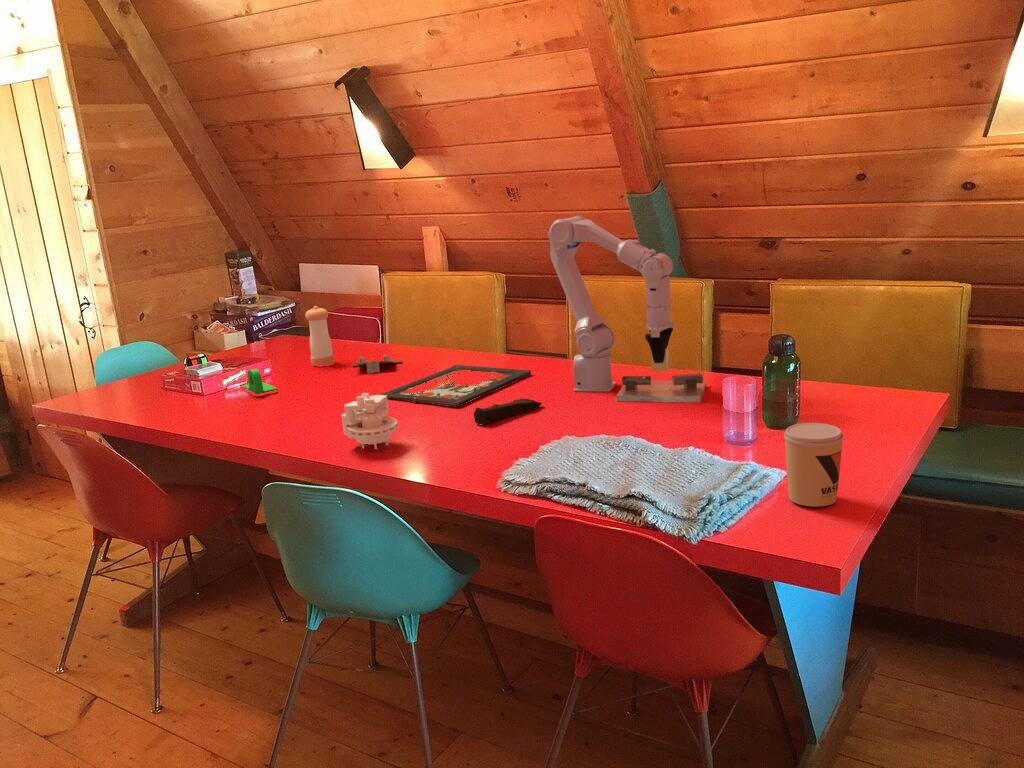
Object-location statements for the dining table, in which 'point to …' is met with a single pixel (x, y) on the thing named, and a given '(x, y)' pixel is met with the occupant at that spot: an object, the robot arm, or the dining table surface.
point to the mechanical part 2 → (368, 420)
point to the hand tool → (504, 410)
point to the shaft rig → (662, 389)
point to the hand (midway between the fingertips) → (660, 360)
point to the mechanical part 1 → (257, 383)
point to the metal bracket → (374, 363)
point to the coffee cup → (813, 463)
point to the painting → (454, 393)
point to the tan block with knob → (660, 366)
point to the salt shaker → (319, 337)
